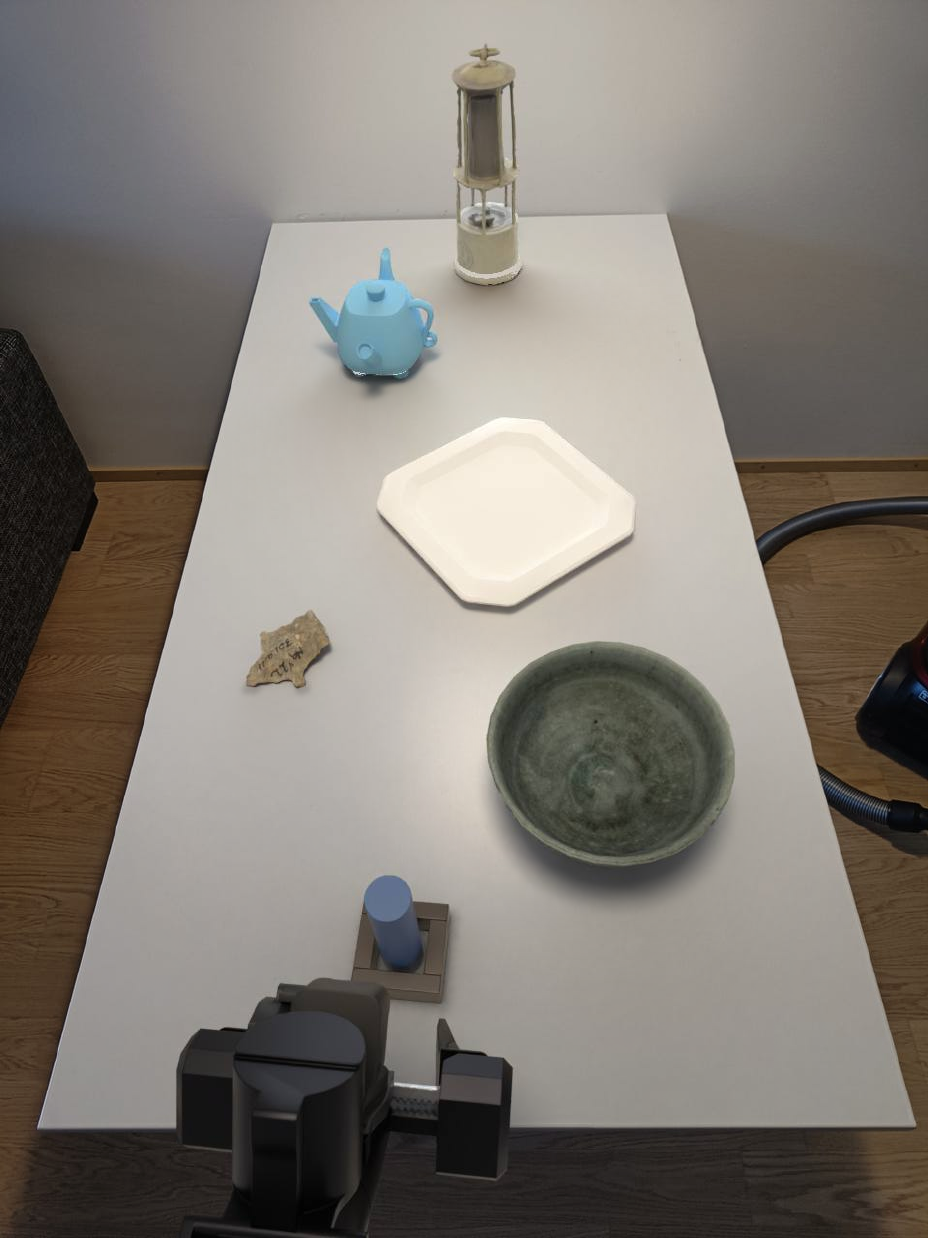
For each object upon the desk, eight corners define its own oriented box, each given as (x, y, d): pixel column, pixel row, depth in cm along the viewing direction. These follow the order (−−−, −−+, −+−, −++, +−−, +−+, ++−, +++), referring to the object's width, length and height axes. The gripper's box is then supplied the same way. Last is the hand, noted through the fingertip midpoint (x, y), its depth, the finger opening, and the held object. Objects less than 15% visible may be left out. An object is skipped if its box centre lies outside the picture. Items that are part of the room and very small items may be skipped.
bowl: (736, 739, 85) (761, 683, 77) (678, 943, 74) (701, 902, 66) (533, 671, 90) (537, 612, 82) (451, 851, 79) (446, 802, 71)
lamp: (453, 286, 132) (443, 66, 109) (456, 239, 140) (448, 24, 116) (522, 285, 132) (528, 64, 108) (521, 238, 140) (526, 22, 116)
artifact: (223, 657, 89) (300, 595, 91) (230, 664, 92) (305, 604, 94) (267, 711, 88) (345, 647, 90) (273, 716, 91) (348, 654, 93)
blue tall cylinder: (407, 984, 72) (392, 931, 61) (374, 960, 73) (354, 905, 63) (431, 948, 74) (420, 891, 63) (398, 926, 75) (382, 866, 64)
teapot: (311, 351, 124) (297, 278, 115) (393, 316, 128) (386, 242, 119) (369, 408, 116) (358, 335, 107) (454, 368, 121) (451, 294, 112)
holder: (441, 1003, 71) (439, 993, 69) (354, 995, 72) (349, 985, 69) (450, 916, 75) (448, 903, 73) (368, 909, 76) (364, 896, 74)
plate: (522, 416, 114) (522, 403, 112) (655, 528, 102) (658, 515, 100) (360, 500, 106) (357, 487, 104) (484, 633, 93) (483, 621, 92)
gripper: (514, 1071, 41) (521, 914, 56) (124, 1033, 42) (235, 890, 58) (501, 1284, 42) (511, 1075, 58) (126, 1240, 44) (233, 1047, 59)
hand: (372, 1018), depth 58 cm, fingers open, 9 cm apart
